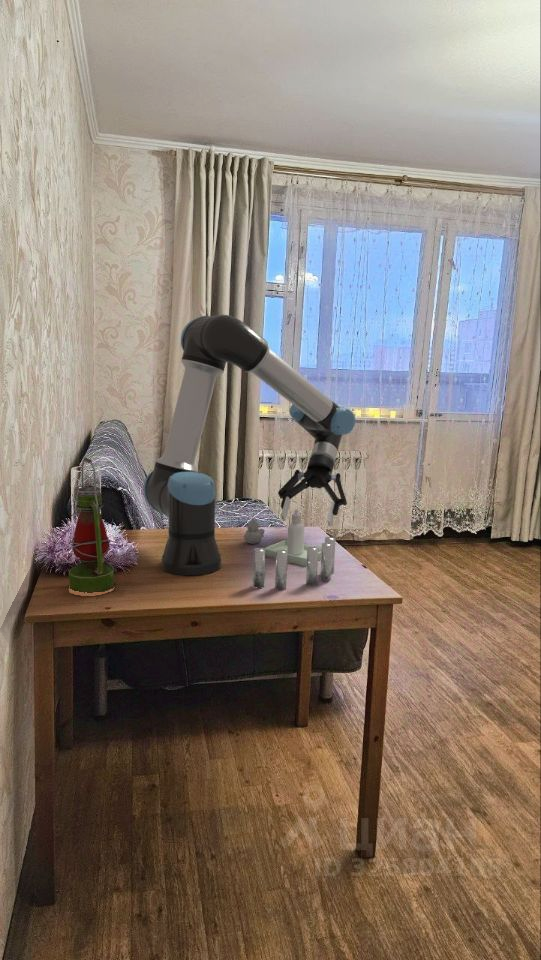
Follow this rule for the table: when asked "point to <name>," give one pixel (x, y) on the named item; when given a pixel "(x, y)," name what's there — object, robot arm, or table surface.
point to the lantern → (90, 543)
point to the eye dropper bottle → (295, 535)
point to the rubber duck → (253, 532)
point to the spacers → (311, 569)
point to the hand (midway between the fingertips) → (305, 521)
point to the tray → (296, 559)
